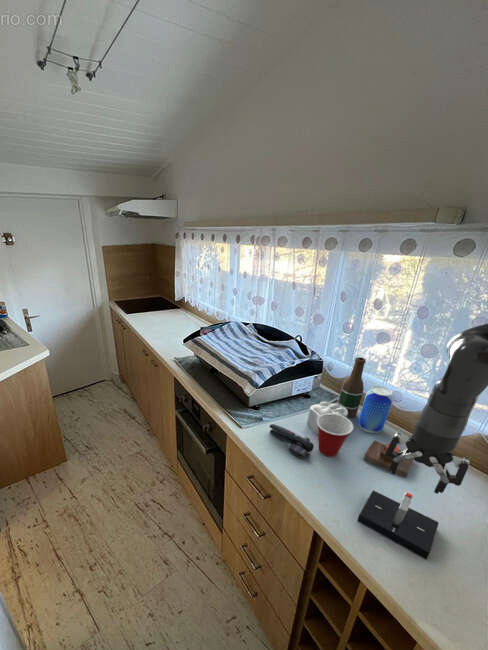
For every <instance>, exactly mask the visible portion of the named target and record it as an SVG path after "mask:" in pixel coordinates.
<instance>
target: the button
mask: <svg viewBox="0 0 488 650" xmlns="http://www.w3.org/2000/svg"><path fill="white" fill-rule="evenodd" d="M386 444H387V443H386ZM389 445H390V443H388V444H387V446H386V448H385V451H387V449H388V447H389ZM399 450H401V449H400V447H399V446H398V445H396V447H395V450H394V451H395V452H396V453H399Z"/></svg>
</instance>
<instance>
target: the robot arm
mask: <svg viewBox="0 0 488 650" xmlns="http://www.w3.org/2000/svg"><path fill="white" fill-rule="evenodd" d="M445 353H446V356H447V359H448V365H447V368H446V370H445V371H444V372H445V373H444V374H443V376H442V377H441V378H439V379H438V380H437V381H436V382H435V383H434V385H433V387H432V390H431V392H430V394H429V396H428V399H427V401H426V403H425V405H424V407H423V408H422V410H421V412H420V414H419V417H418V419H417V422H416V425H415V427H414V429H413V432H412V434H411V437H409V438H407V437H404V436H402V433H400V432H395V434H394V435H393V437H392V438H391V441H390V442H389V444H390V445H389V447H388V449H387V451H386V453H385V455H386V456H387V457H390V458H392V463H391V466H390V471H389V472H391V471H392V472H391V474H392V475H396V474H395V473H396V471H397V469H398V466H399V464H400V462H401V461H404V460H405V461H406V460H409V459H412V458H413V459H414V461H413V462H416V463H419V464H423V465H424V466H426V467H429V468H434V470H435V472H436V474H437V475H439V479H438V482H437V484H436V485H435V488H434V491H433V493H434V494H436V495H438V494H439V493H440V494H442V493H444V492H445V490H446V488H447V486H448V485H449V484H453V485H455V486H456V487H459V486H461V485H462V483H463V481H464V478H465V476H466V473H467V471H468V469H469V467H470V462H471V459H470V458H469V457H466V456H465V457H458V456H455V455H454V451H455V449H456V448H457V445H458V443H459V441H460V439H461V437H462V435H463V433H464V431H465V430H466V427H467V425H468V423H469V419H470V416H471V414H472V411H473V410H474V408H475V405H476V404H477V402H478V399H479V396H480V395H481V394H482V393H483V392H484V391H485V390H486V389H487V388H488V323H484V324H480V325H477V326H474V327H473V326H472V327H471V328H468V329H465V330H463V331H461V332H459V333H457V334H455V335H454V336H453V337H451V338H450V339H449V341H448V342H447V344H446V347H445ZM403 444H404V445H405V447H406V448H405V449H404V450H402V452H399V453H396V452H395V451H394V450H395V447H396V446H401V445H403ZM449 463H454V467H455V468H456V469H457V471H456V473H455V474H451V472H450V470H449V468H448V464H449Z"/></svg>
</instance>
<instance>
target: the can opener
mask: <svg viewBox="0 0 488 650" xmlns="http://www.w3.org/2000/svg"><path fill="white" fill-rule="evenodd" d="M269 428H270V430H269V433H270V434H271V435H273V436H274V437H276V438H278V439H280V440H282V441H284V442H287V443H289V447H288V448H287V450H288V451H289V452H290V453H291V454H292V455H294V456H296V457H297V458H300V459H306V458H308V457H309V456H310V453H311V452H312V451H313V450H314V447H315V446H314V443H313V442H311V439H310V437H308V436H305V437H303V436H301V435H299V434H298V433H295V432H294V431H292V430H289V429H287V428H285V427H283V426H280V425H277V424H275V423H271V424H270V425H269Z"/></svg>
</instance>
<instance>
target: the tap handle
mask: <svg viewBox="0 0 488 650" xmlns="http://www.w3.org/2000/svg"><path fill="white" fill-rule="evenodd" d="M413 498H414V495H413V494H412V493H409V492H405V493H404V495H403V497H402V500H401V501H400V506H399V508H398V510H397V513H396V515H395V518H394V520H393V522H392V525H394V526H396V527H398V528H399V527H400V525H401V523H402V521H403V519H404V517H405V515H406V513H407V510H408V508H410V505H411V502H412V500H413Z"/></svg>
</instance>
